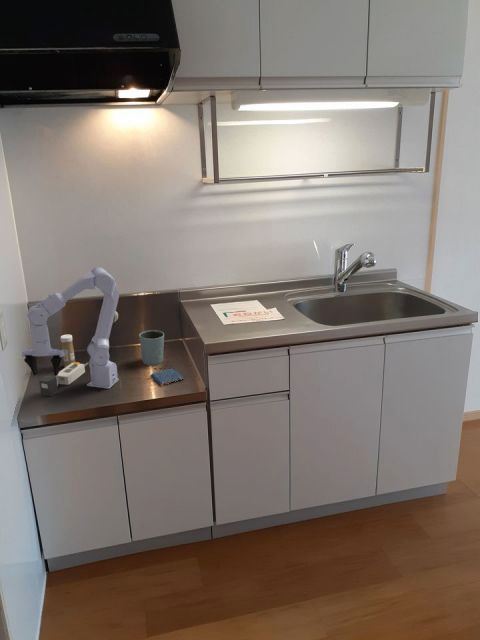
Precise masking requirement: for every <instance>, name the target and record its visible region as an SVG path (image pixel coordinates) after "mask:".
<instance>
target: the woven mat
mask: <svg viewBox="0 0 480 640" xmlns="http://www.w3.org/2000/svg"><path fill="white" fill-rule="evenodd" d="M150 378H151V379H153V381H154V382H155V383H157V384H158V385H159V386H160V387H163V386H166V385H167V384H168V385H169V383H171V382H174V381H175V382H176V381H178V380H182V379H184V380H185V379H186V378H185V377H184V376H183V375H182V374H181V373H179V372H178V371H177V370H176V369H174V368H168V369H165V370H162V371H157V372H153V373H151V374H150ZM182 381H183V380H182ZM175 382H174V383H175ZM176 383H177V382H176ZM171 384H172V383H171Z"/></svg>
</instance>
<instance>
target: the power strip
mask: <svg viewBox="0 0 480 640" xmlns="http://www.w3.org/2000/svg"><path fill="white" fill-rule="evenodd" d="M87 366H89V361H87V362H86V363H80V362H79V361H75V363H71V364H70V365H68V366H67V367H64V368H62V369H61V370H59V374H58V375H57V376H55V375H54V376H55V377H56V380H57V383H58V385H59V384H60V385H66V386H67V385H68V386H69V385H71V383H73V382H74V381H76V380H77V379H78V378H79V377H81V376H82V375H83V374H84V373H86V370H85V369H86V367H87Z"/></svg>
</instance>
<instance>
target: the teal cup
mask: <svg viewBox="0 0 480 640" xmlns="http://www.w3.org/2000/svg"><path fill="white" fill-rule="evenodd" d="M138 339H139V343H140V353H141V357H142V358H141V360H142V364H144V365H146V366H147V365H148V366H156V365H160V364H161V362H162V361H163V362H164V348H165V347H164V345H165V344H164V341H165V333H164V332H163V331H161V330H156V329H151V330H144V331H142V332H140V333H139V335H138Z"/></svg>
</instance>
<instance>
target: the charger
mask: <svg viewBox="0 0 480 640" xmlns="http://www.w3.org/2000/svg"><path fill="white" fill-rule="evenodd" d="M38 383H39V389H40V394H41V396H45V397H46V396H47V397H52V396H53V395H55V394H56V393H57V392H58V391H59V388H58V385H59V384H58V383H57V380H56V377H55V375H53V376H52V375H45V376H43V378H41V379H39V380H38Z"/></svg>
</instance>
